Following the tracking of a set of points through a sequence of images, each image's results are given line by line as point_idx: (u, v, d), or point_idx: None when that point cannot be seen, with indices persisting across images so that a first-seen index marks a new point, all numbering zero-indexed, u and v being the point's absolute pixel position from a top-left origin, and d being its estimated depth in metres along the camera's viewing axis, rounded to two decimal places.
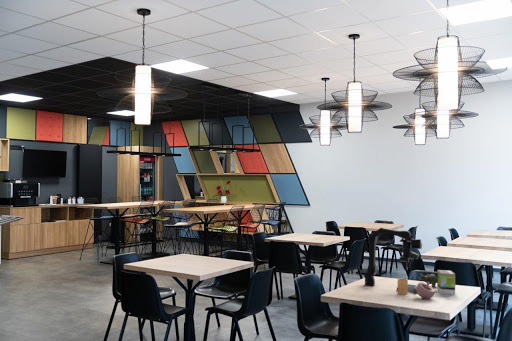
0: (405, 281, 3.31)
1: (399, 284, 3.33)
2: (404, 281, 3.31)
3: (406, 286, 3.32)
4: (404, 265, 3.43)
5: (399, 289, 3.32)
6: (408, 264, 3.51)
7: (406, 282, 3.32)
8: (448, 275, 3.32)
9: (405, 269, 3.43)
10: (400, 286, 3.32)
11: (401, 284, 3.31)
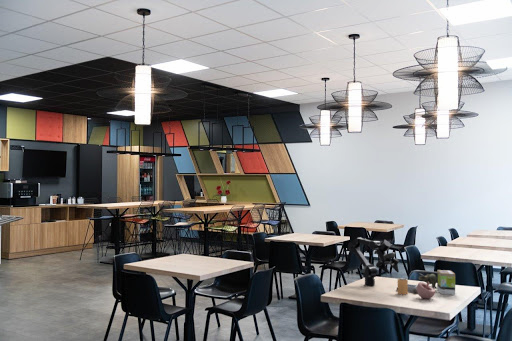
0: (405, 281, 3.31)
1: (399, 284, 3.33)
2: (404, 281, 3.31)
3: (406, 286, 3.31)
4: (384, 269, 3.40)
5: (399, 289, 3.32)
6: (396, 268, 3.45)
7: (406, 282, 3.32)
8: (448, 275, 3.32)
9: (388, 272, 3.39)
10: (400, 286, 3.32)
11: (401, 284, 3.31)
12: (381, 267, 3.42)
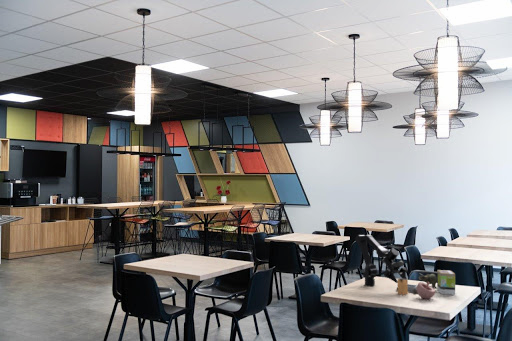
0: (405, 281, 3.31)
1: (399, 284, 3.33)
2: (404, 281, 3.31)
3: (406, 286, 3.32)
4: (392, 278, 3.33)
5: (399, 289, 3.32)
6: (404, 277, 3.38)
7: (406, 282, 3.32)
8: (448, 275, 3.32)
9: (396, 281, 3.32)
10: (400, 286, 3.32)
11: (401, 284, 3.31)
12: (389, 276, 3.35)
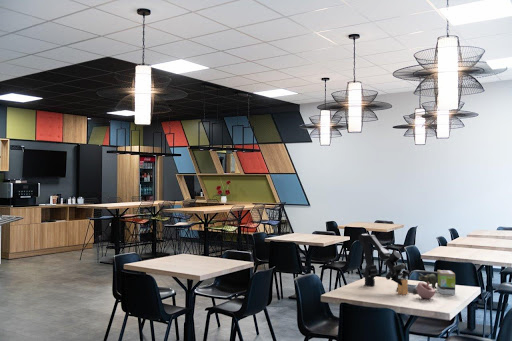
0: (405, 281, 3.31)
1: None
2: (404, 281, 3.31)
3: (406, 286, 3.31)
4: (397, 281, 3.33)
5: (399, 289, 3.32)
6: None
7: (406, 282, 3.32)
8: (448, 275, 3.32)
9: (400, 284, 3.31)
10: (400, 286, 3.32)
11: None
12: (393, 279, 3.35)
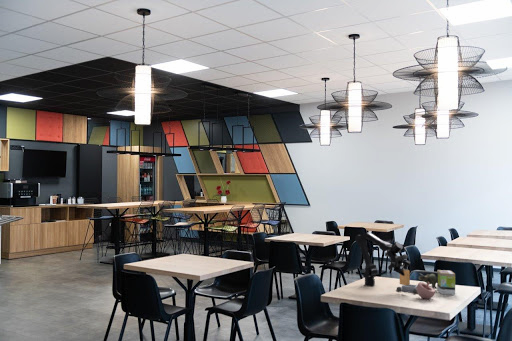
0: (407, 271, 3.33)
1: None
2: (406, 271, 3.33)
3: (408, 276, 3.34)
4: (399, 271, 3.34)
5: (402, 279, 3.34)
6: None
7: (408, 272, 3.34)
8: (448, 275, 3.32)
9: (403, 274, 3.33)
10: (402, 276, 3.34)
11: None
12: (395, 269, 3.36)
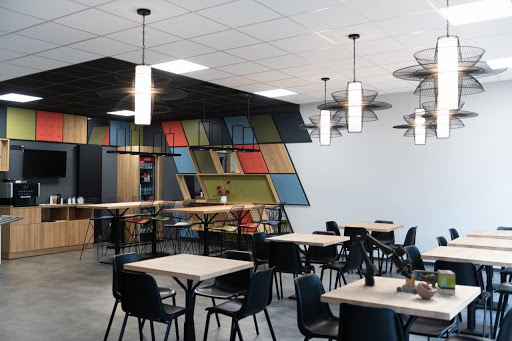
0: (413, 276, 3.43)
1: (408, 280, 3.43)
2: (413, 276, 3.42)
3: (414, 281, 3.43)
4: (406, 275, 3.41)
5: (408, 284, 3.42)
6: None
7: (414, 277, 3.44)
8: (448, 275, 3.32)
9: (409, 277, 3.41)
10: (409, 281, 3.42)
11: (410, 280, 3.42)
12: (402, 273, 3.42)
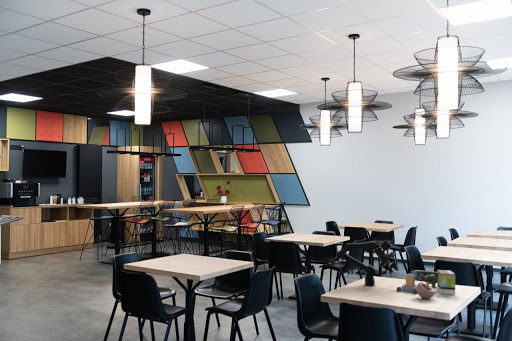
0: (413, 276, 3.43)
1: (408, 280, 3.43)
2: (413, 276, 3.42)
3: (414, 281, 3.43)
4: (388, 268, 3.50)
5: (408, 284, 3.42)
6: (395, 267, 3.57)
7: (414, 277, 3.44)
8: (448, 275, 3.32)
9: (392, 271, 3.49)
10: (409, 281, 3.42)
11: (410, 280, 3.42)
12: (384, 267, 3.51)
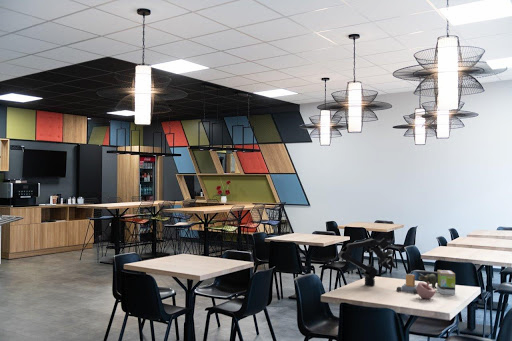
0: (413, 276, 3.43)
1: (408, 280, 3.43)
2: (413, 276, 3.42)
3: (414, 281, 3.43)
4: (386, 266, 3.53)
5: (408, 284, 3.42)
6: (392, 265, 3.61)
7: (414, 277, 3.44)
8: (448, 275, 3.32)
9: (390, 268, 3.52)
10: (409, 281, 3.42)
11: (410, 280, 3.42)
12: (383, 264, 3.54)
